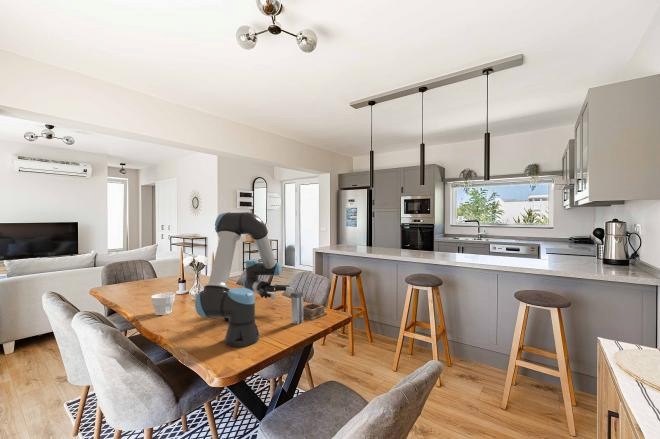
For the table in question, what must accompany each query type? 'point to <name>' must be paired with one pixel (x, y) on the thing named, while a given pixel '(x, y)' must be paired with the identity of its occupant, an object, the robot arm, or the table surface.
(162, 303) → the cup
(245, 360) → the table surface
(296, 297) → the steel tongs
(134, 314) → the table surface
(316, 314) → the box
